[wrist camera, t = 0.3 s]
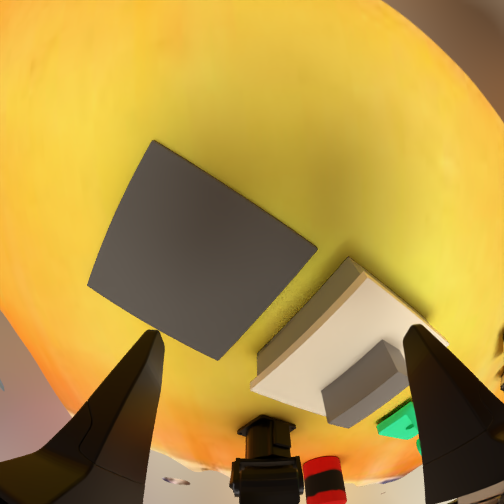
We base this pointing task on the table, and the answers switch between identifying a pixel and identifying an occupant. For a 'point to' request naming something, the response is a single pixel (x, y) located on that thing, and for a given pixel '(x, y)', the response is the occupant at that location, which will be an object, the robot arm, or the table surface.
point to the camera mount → (401, 425)
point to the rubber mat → (194, 254)
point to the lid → (346, 357)
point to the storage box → (314, 312)
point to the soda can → (324, 481)
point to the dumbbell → (503, 378)
